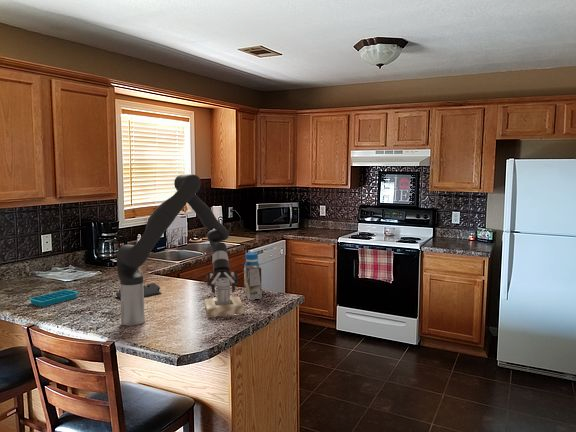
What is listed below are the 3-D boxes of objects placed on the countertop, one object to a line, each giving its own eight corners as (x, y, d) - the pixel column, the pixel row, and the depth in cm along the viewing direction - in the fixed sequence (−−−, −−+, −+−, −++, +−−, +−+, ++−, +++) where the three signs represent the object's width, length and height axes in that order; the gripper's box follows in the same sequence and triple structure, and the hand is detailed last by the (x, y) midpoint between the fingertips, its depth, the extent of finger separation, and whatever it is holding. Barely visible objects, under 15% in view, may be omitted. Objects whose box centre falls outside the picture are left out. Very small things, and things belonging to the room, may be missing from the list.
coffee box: (262, 299, 225) (261, 268, 224) (249, 300, 223) (249, 269, 221) (256, 294, 234) (256, 264, 232) (245, 296, 232) (244, 265, 230)
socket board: (207, 317, 197) (207, 308, 197) (204, 307, 213) (204, 299, 212) (243, 314, 201) (243, 306, 201) (238, 304, 217) (238, 296, 216)
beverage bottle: (257, 292, 239) (257, 255, 237) (242, 291, 241) (241, 254, 239) (261, 288, 248) (261, 252, 246) (246, 287, 249) (246, 251, 247)
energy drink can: (230, 308, 210) (230, 277, 209) (229, 312, 204) (229, 280, 203) (217, 308, 210) (217, 277, 209) (216, 312, 204) (215, 280, 203)
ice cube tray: (80, 298, 230) (79, 292, 230) (41, 308, 213) (41, 302, 213) (66, 295, 236) (65, 289, 236) (27, 304, 219) (27, 298, 219)
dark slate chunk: (112, 296, 233) (111, 287, 233) (151, 289, 248) (151, 280, 248) (124, 302, 222) (123, 293, 222) (165, 294, 237) (164, 285, 237)
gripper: (205, 258, 210) (208, 289, 200) (236, 257, 214) (240, 286, 204) (205, 267, 216) (207, 297, 206) (234, 266, 219) (238, 295, 209)
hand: (223, 292), depth 205 cm, fingers open, 8 cm apart
